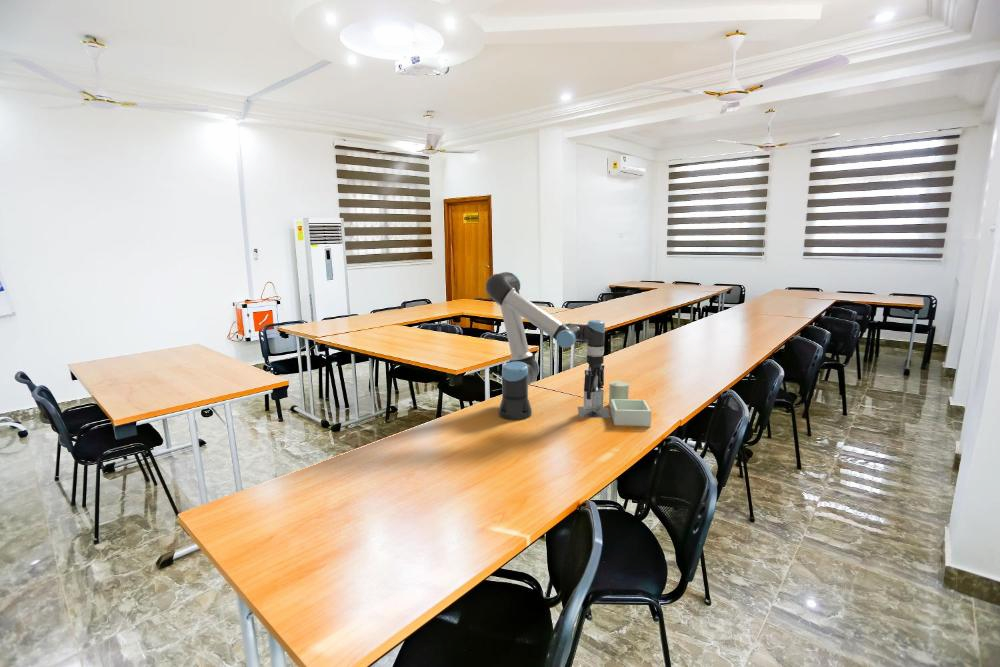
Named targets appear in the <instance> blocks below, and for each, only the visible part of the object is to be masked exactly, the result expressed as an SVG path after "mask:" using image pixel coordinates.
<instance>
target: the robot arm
mask: <svg viewBox="0 0 1000 667" xmlns="http://www.w3.org/2000/svg"><path fill="white" fill-rule="evenodd" d="M520 290H521V280H520V279H519V277H518V275H516V274H515V273H512V272H509V271H508V272H507V271H505V272H500V273H495V274H492V275H491V276H490V277H488V278H487V280H486V283H485V292H486V293H487V295H488V296H489V298H490V299H491V300H493V301H495V303H496V305H498V306H499V307H500V309H501V310H500V311H501V315H502V319H503V324H504V327H505V333H506V336H507V341H508V344H509V345H508V346H509V348H510V358H509V359H508V360H509V362H507V363H505V364H504V365H503V366H502V369H501V376H502V377H501V382H502V383H501V388H502V390H501V391H502V393H501V394H502V398H501V401H500V405H499V408H498V415H499V417H501V418H503V419H506V420H514V421H515V420H523V419H527V418H530V417H531V416H532V413H533V411H532V407H531V403H530V400H529V392H528V391H529V385H530V384H532V383H533V382H534V381H536V379H537V377H538V375H539V372H540V365H539V363H538V362H537V360H535V359H534V358H535V356H534V353H532V352H531V351H530V350H529V344H528V342H527V337H526V336H527V335H526V331H525V327H524V326H525V325H524V323H523V319H525V320H527V322H529V323H530V324H532V325H533V326H535V327H536V328H538V329H540V331H542V332H543V333H545V334H546V335H548V336H549V337H550V338H553V339H554V340H556V343H557V345H558V346H559V347H561V348H564V349H565V348H569V347H572V346H574V344H575V343H576V342H586V344H587V346H586V354H587V355H586V363H587V365H588V368H587V369H585V370H584V384H583V392H584V391H585V392H587V402H586V405H588V406H592V404H593V392H592V389H593V384H594V379H595V378H596V375H598V389H602V390H604V389H603V388H604V385H605V365H604V358H605V357H604V355H605V354H604V353H605V337H606V336H605V333H606V330H605V328H606V324H605V322H604V321H603V320H597V319H593V320H591V319H589V320H588V322H587V324H582V323H570V322H569V323H563V322H561V321H559V319H557V318H555V317H554V316H552V314H550V313H548V311H547V312H546V311H545V310H544V309H542V308H541V307H540V306H537V305H536V304H535V303H533V302H532V301H530V300H529V299H527V298H526V297H524V296H523V295H522V294H520ZM591 375H593V376H591Z"/></svg>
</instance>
